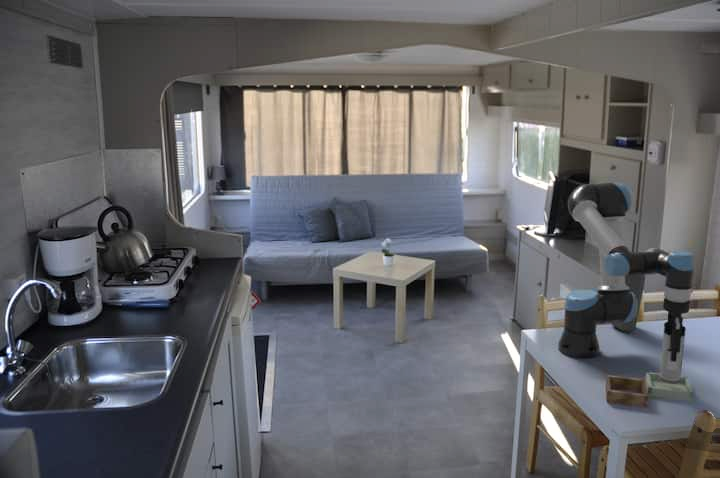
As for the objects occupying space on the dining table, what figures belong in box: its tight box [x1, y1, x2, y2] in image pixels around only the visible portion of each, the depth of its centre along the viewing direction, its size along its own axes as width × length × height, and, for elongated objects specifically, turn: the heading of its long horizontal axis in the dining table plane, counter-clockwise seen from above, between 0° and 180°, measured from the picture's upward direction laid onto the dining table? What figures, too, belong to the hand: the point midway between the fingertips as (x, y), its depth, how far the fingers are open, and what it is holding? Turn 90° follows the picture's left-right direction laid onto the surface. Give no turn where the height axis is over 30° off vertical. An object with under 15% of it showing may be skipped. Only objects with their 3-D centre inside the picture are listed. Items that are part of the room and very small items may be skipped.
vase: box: [610, 274, 646, 333], centre depth 252 cm, size 12×12×30 cm
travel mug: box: [659, 321, 686, 384], centre depth 199 cm, size 6×7×20 cm
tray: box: [644, 371, 694, 402], centre depth 202 cm, size 13×12×3 cm
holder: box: [605, 374, 649, 408], centre depth 199 cm, size 12×12×4 cm
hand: (670, 364), depth 200 cm, fingers closed on travel mug, 6 cm apart
